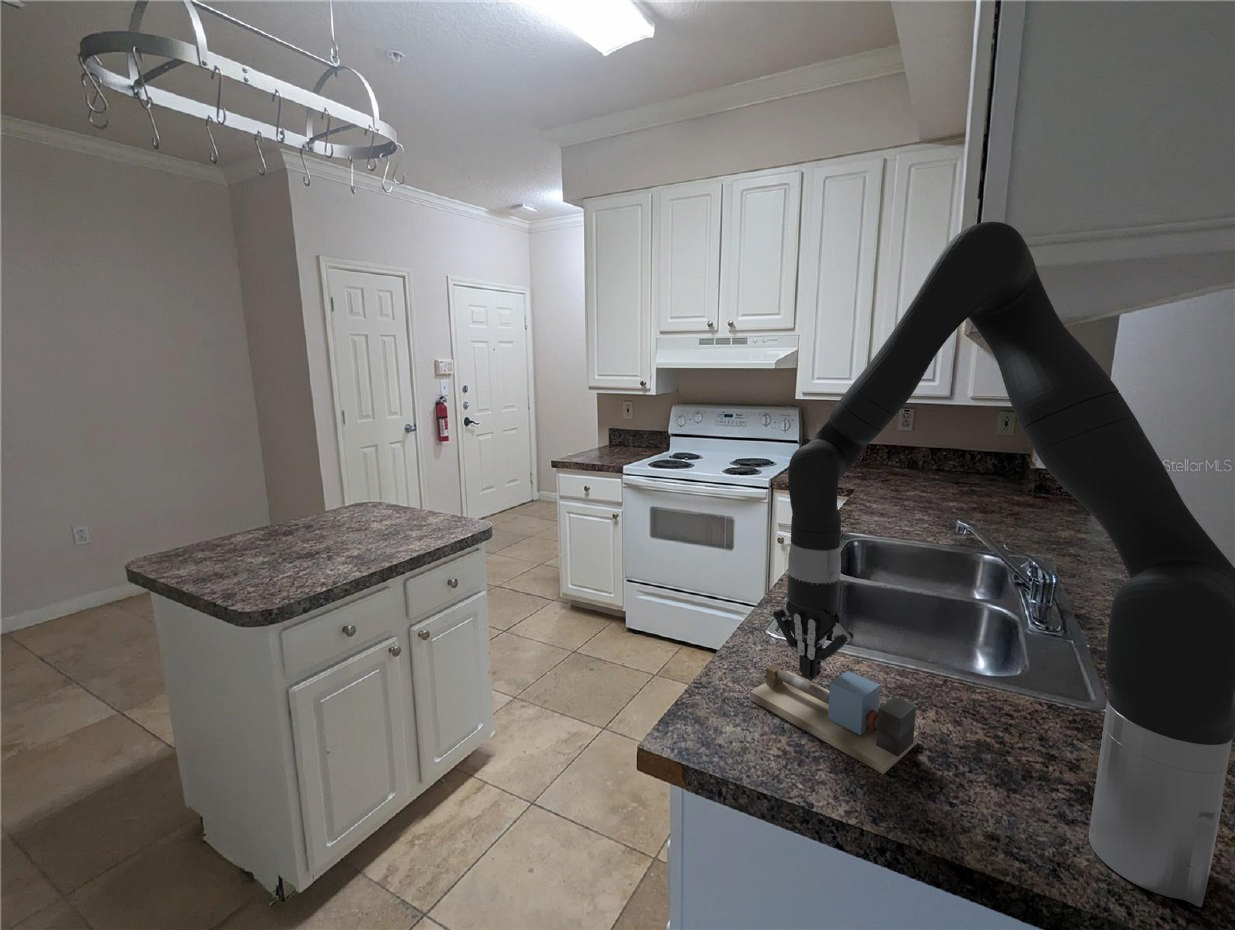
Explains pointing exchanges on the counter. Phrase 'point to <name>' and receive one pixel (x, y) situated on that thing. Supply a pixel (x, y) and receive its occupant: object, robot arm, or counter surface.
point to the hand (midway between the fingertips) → (809, 677)
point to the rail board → (809, 711)
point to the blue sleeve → (852, 701)
